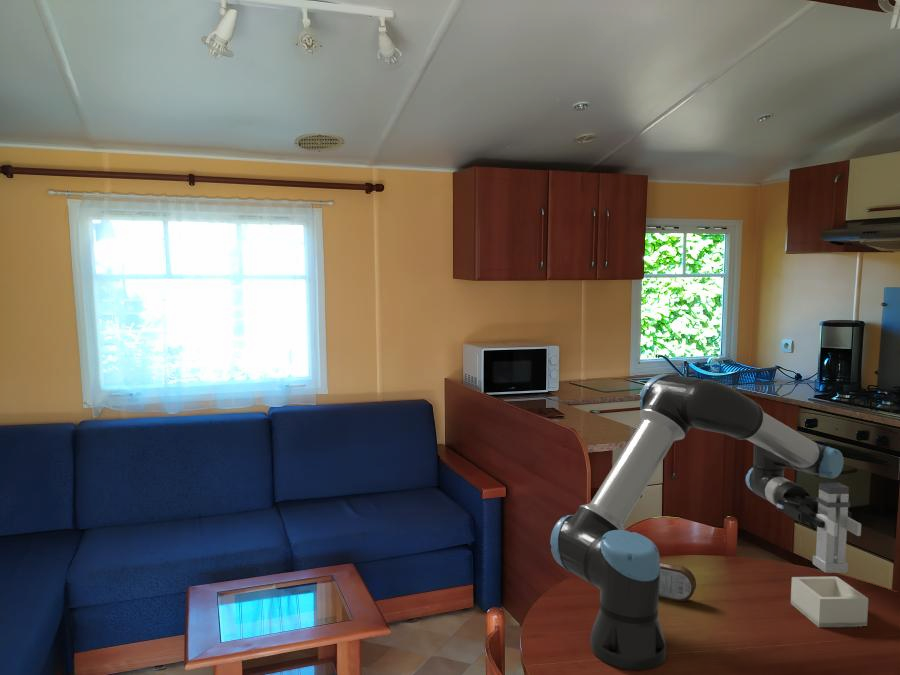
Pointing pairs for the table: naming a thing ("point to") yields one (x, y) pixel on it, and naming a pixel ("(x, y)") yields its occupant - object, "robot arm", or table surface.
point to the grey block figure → (834, 547)
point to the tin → (676, 582)
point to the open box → (829, 602)
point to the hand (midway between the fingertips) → (847, 530)
